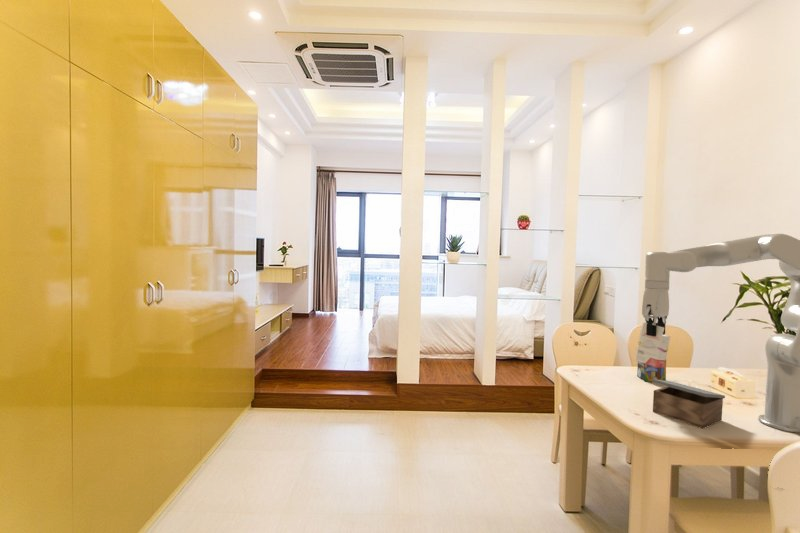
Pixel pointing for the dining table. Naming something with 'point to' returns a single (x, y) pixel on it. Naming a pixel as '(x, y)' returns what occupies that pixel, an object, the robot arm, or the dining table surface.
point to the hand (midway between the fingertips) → (655, 334)
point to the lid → (688, 389)
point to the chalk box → (651, 372)
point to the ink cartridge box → (652, 347)
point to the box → (687, 407)
